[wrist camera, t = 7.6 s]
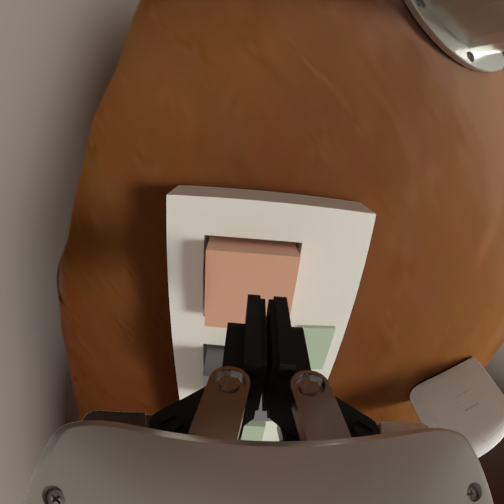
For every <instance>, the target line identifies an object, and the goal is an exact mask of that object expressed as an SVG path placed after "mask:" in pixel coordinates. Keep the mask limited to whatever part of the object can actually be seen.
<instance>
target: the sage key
mask: <svg viewBox="0 0 504 504" xmlns="http://www.w3.org/2000/svg"><path fill="white" fill-rule="evenodd" d="M264 430H265V421H250V422H249V423H247V424H246V425H245V426H244V430H243V434H242V438H241V440H252V441H262V438H263V434H264Z"/></svg>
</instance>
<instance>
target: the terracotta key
mask: <svg viewBox="0 0 504 504" xmlns="http://www.w3.org/2000/svg"><path fill="white" fill-rule="evenodd" d="M300 258H301V257H300V254H299V252H298V249H297V247H296V244H295V242H287V241H275V240H263V239H251V238H238V237H225V236H212V235H211V236H210V239H209V242H208V245H207V248H206V258H205V326H209V327H221V328H227V325H228V322H231V323H242V324H245V318H246V308H247V298H248V294H253V295H260V296H261V299H265V306H266V314H267V307H268V301H269V299H273V298H274V296H279V297H287V302H288V308H289V314H290V313H291V308H292V303H293V297H294V292H295V287H296V281H297V275H298V270H299V264H300Z"/></svg>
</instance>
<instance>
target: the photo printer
mask: <svg viewBox="0 0 504 504" xmlns="http://www.w3.org/2000/svg"><path fill="white" fill-rule="evenodd" d="M410 400H411V402H412V404H413V406H414V408H415V410H416V412H417V414H418V416H419V418H420V420H421V422H422V423H423V424H425V425H427V426H428V427H429V428H444V429H450V430H454V431H457V432H459V433H461V434H462V435H464V436H465V437H466V439H467V440H468V441H469V443H470V444H471V446H472V448H473V450H474V451H475V453H476V455H477V458H478V457H480V456H482V455H483V454H485V453H486V452H488V451H489V450H491V449H492V448H493V447H494V446H495V445H496V444H497V443H499V442H500V441H501V439H502V438H503V437H504V395H503V393H502V392H501V391H500V389H499V388H498V386H497V385H496V384H495V382H494V381H493V380H492V378H491V377H490V376H489V374H488V373H487V372H486V370H485V369H484V367H483V366H482V365H481V364H480V362H479V361H478V360H477V359H476V358H475V357H472V358H470V359H468V360H466V361H464V362H462V363H460V364H458V365H456V366H454V367H452V368H451V369H449V370H447V371H445V372H443V373H441V374H439V375H437V376H435V377H433V378H431V379H429V380H427V381H425V382H423V383H421V384H419V385H417V386H416V387H414V388H413V390H412V391H411V393H410Z"/></svg>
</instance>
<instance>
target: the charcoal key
mask: <svg viewBox="0 0 504 504" xmlns="http://www.w3.org/2000/svg"><path fill="white" fill-rule="evenodd" d="M224 347H225V346H223V345H212V344H208V346H207V352H206V358H205V364H204V370H203V387H205V386H206V384H207V382H208V379H209V376H210V375H211V373H212V372H213V371H214V370H216V369H218V368H220V367H222V363H223V355H224ZM252 421H271V420H270V418H267V411H262V395H261V400H260V405H259V410H258V411H255V416H254V419H253V420H252Z"/></svg>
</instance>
